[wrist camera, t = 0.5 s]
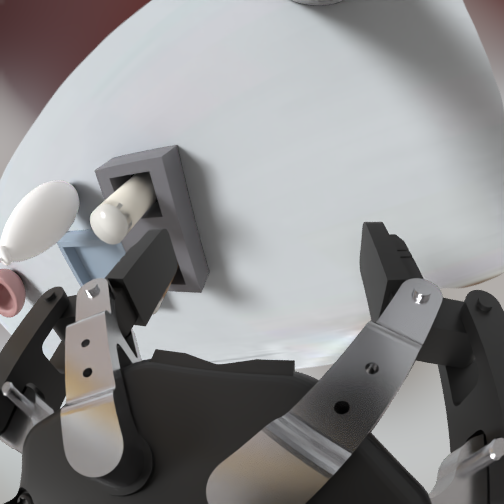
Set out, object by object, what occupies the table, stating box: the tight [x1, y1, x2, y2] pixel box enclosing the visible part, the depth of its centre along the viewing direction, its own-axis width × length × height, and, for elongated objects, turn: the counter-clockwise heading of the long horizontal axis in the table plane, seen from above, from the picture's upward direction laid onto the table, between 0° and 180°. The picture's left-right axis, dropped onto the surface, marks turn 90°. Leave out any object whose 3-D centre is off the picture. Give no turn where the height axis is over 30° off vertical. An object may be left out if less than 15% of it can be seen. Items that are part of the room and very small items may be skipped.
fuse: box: [90, 171, 157, 244], centre depth 27 cm, size 4×4×10 cm
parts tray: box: [57, 229, 126, 287], centre depth 40 cm, size 14×14×3 cm
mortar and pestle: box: [0, 269, 25, 317], centre depth 47 cm, size 12×12×11 cm
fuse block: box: [95, 145, 209, 293], centre depth 33 cm, size 18×9×4 cm, turn 7°
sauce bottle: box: [0, 180, 79, 266], centre depth 26 cm, size 8×8×18 cm
